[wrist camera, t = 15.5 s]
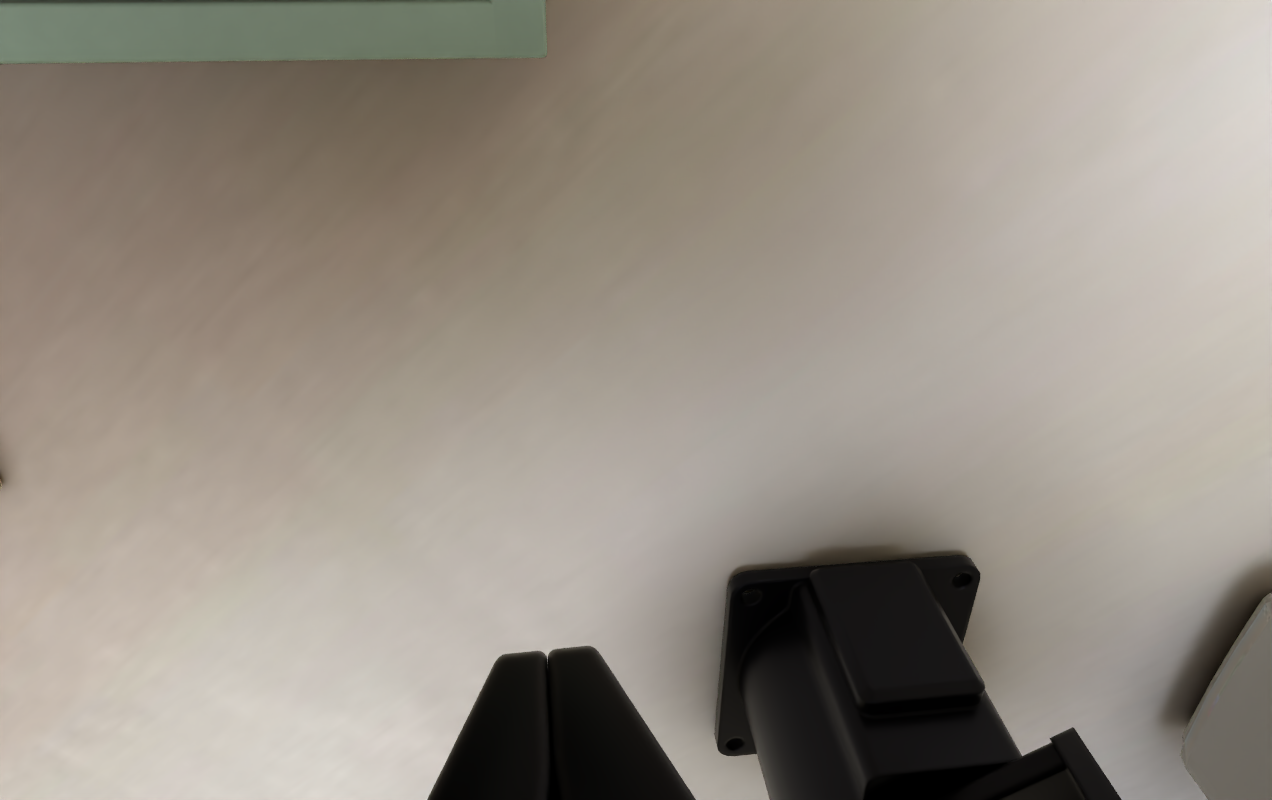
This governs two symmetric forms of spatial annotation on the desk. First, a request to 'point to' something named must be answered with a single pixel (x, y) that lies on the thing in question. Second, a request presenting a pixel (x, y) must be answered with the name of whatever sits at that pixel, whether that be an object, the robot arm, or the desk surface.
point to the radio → (1236, 719)
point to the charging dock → (268, 30)
